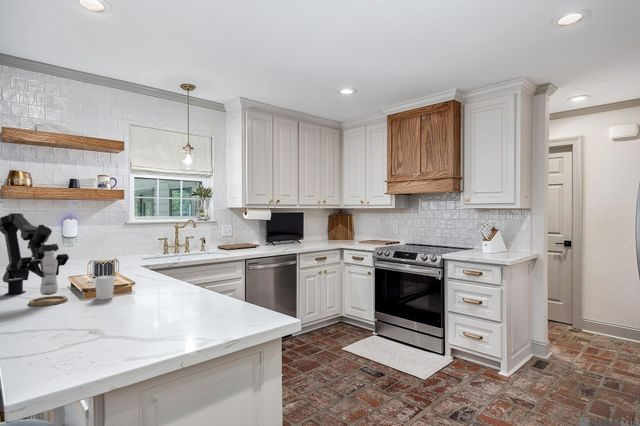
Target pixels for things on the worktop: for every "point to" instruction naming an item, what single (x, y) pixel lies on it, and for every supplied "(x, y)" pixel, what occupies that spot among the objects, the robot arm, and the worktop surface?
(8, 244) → the robot arm
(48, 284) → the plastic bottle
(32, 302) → the brown round plate
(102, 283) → the white cup
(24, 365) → the worktop surface
